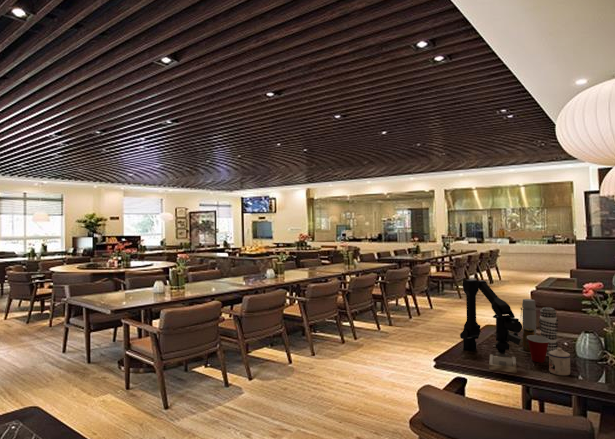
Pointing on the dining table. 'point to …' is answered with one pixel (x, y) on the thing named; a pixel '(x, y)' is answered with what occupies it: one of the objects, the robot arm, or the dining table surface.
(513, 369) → the tan piece
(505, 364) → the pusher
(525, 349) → the condiment
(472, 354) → the dining table surface
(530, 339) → the plastic cup
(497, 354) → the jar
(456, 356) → the dining table surface
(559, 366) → the teacup with lid
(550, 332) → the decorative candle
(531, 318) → the water bottle
